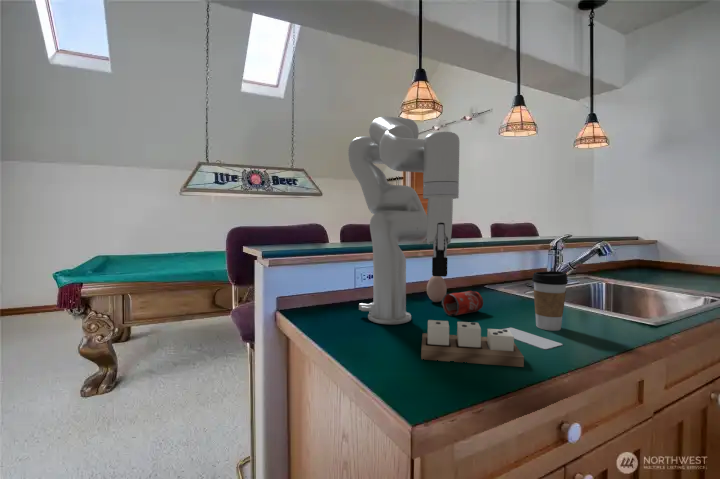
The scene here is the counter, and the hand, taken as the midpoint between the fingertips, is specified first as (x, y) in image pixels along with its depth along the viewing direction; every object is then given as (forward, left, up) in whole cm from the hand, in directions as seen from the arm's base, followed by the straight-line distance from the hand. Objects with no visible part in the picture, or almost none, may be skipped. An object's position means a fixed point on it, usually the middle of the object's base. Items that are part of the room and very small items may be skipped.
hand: (439, 275), depth 78 cm
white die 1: (0, 0, -15) cm, 15 cm away
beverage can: (+8, +34, -17) cm, 39 cm away
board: (+6, 0, -17) cm, 18 cm away
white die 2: (+6, 0, -15) cm, 16 cm away
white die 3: (+13, 0, -16) cm, 20 cm away
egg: (0, +47, -17) cm, 50 cm away
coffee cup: (+29, +23, -17) cm, 41 cm away
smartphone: (+21, +13, -18) cm, 30 cm away
